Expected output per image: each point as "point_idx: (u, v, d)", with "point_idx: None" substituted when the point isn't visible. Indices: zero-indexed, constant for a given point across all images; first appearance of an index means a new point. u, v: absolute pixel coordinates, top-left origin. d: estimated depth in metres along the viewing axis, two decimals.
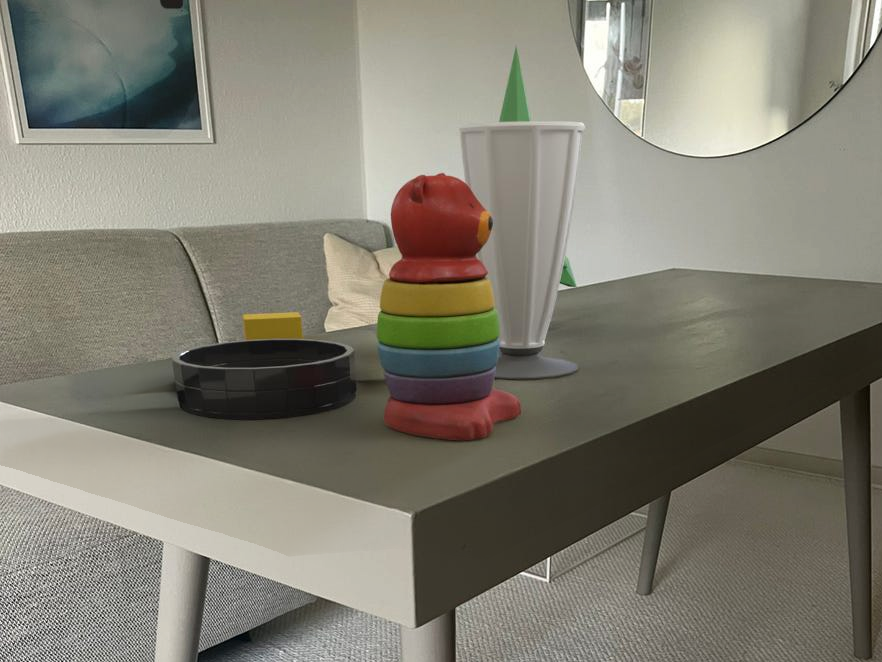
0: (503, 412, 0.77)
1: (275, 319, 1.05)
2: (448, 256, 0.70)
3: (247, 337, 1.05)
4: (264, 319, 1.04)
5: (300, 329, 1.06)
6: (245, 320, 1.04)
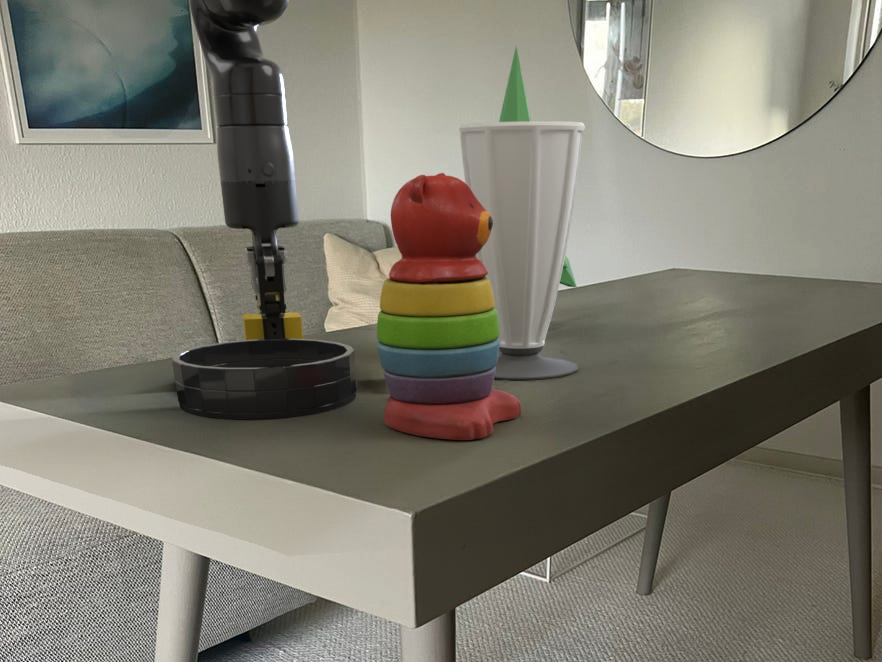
0: (503, 412, 0.77)
1: None
2: (448, 256, 0.70)
3: (247, 337, 1.05)
4: None
5: (300, 329, 1.06)
6: (245, 320, 1.04)
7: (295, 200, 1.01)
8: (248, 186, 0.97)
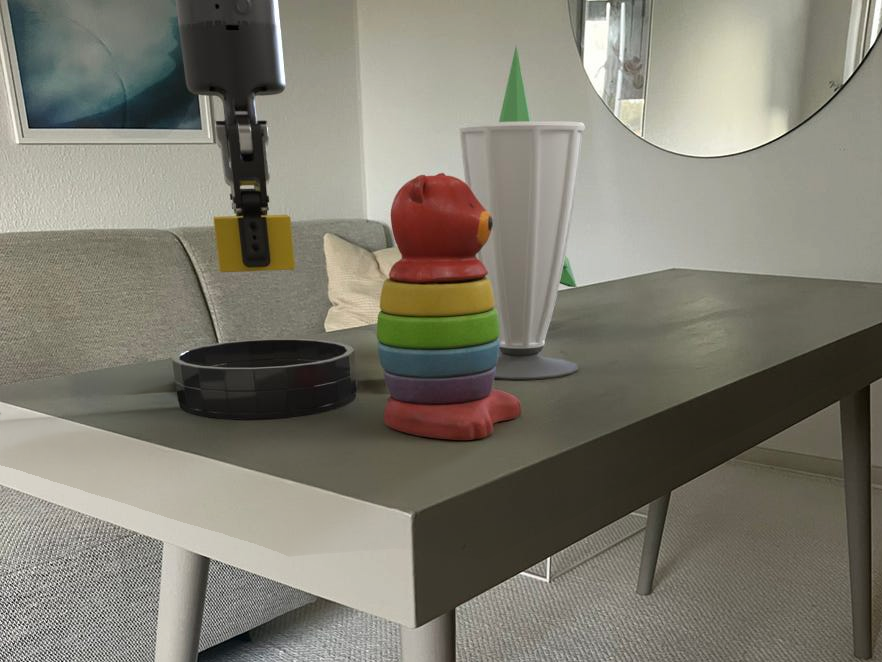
0: (503, 412, 0.77)
1: None
2: (448, 256, 0.70)
3: (219, 243, 0.79)
4: None
5: (289, 234, 0.80)
6: (216, 220, 0.78)
7: (280, 54, 0.75)
8: (215, 28, 0.72)
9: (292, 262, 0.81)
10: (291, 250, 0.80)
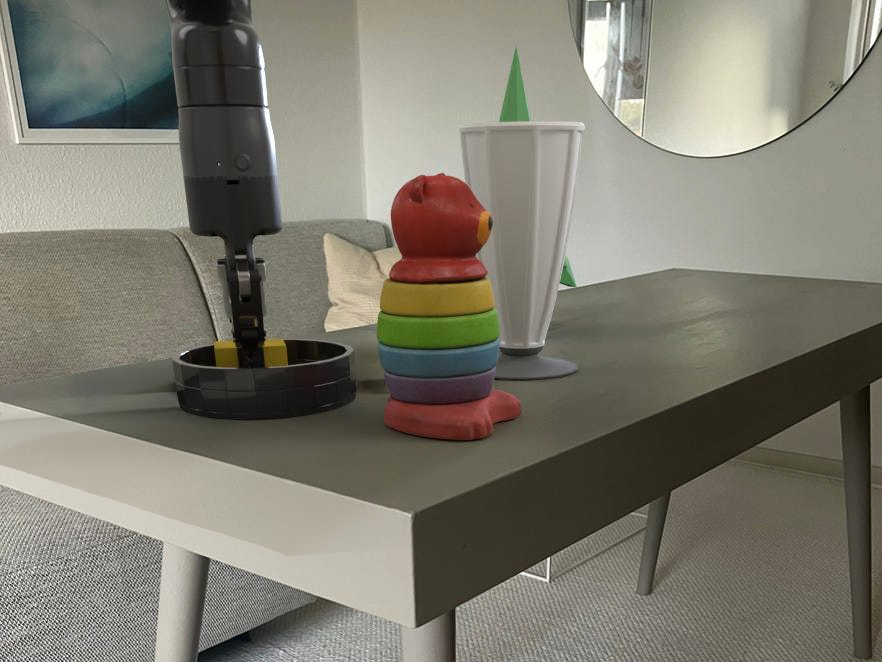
0: (503, 412, 0.77)
1: None
2: (448, 256, 0.70)
3: None
4: None
5: (285, 360, 0.85)
6: (216, 349, 0.84)
7: (277, 201, 0.81)
8: (217, 183, 0.77)
9: None
10: None
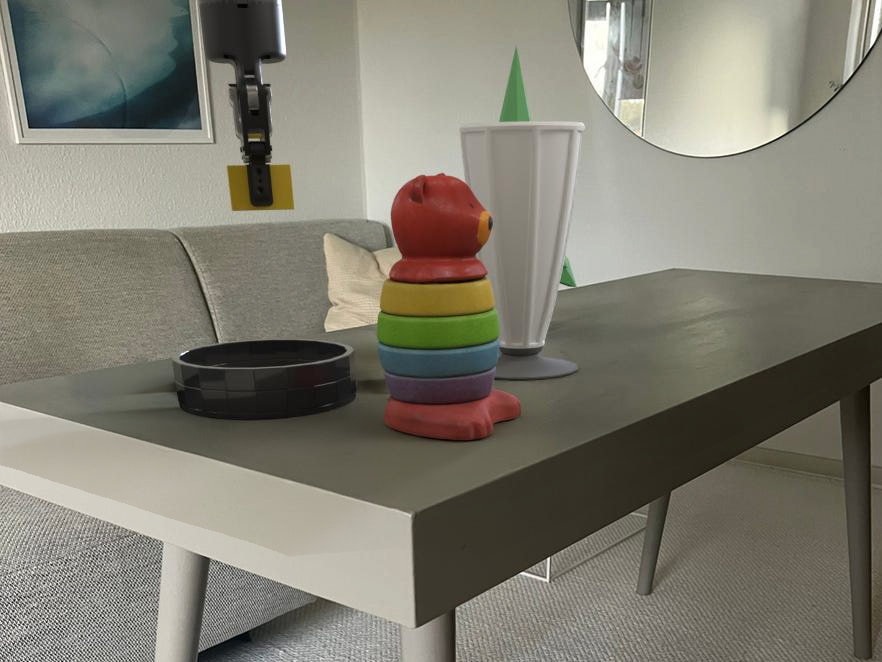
0: (503, 412, 0.77)
1: None
2: (448, 256, 0.70)
3: (231, 186, 0.95)
4: None
5: (289, 179, 0.96)
6: (228, 166, 0.94)
7: (282, 28, 0.91)
8: (229, 6, 0.88)
9: (292, 203, 0.97)
10: (291, 193, 0.97)
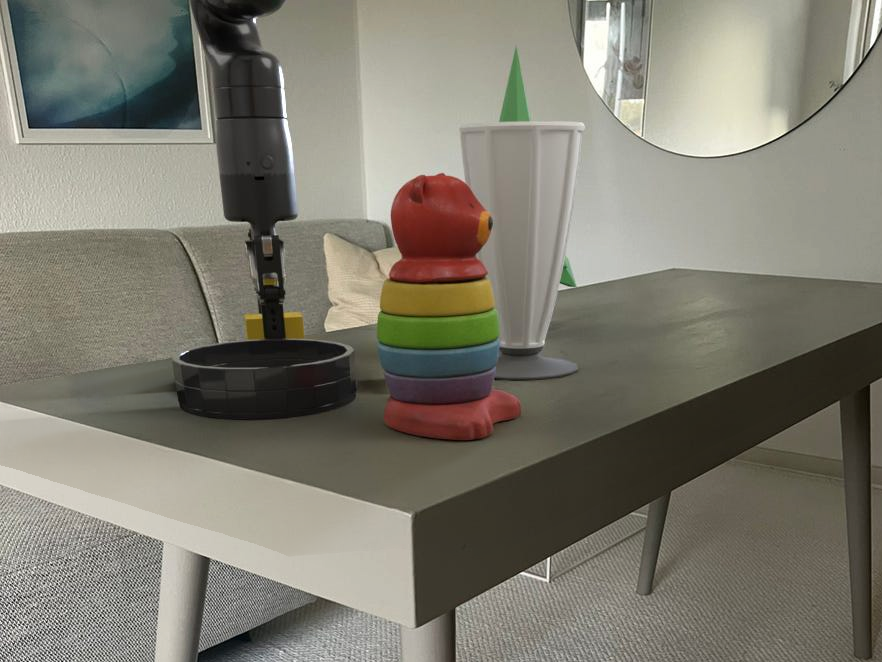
0: (503, 412, 0.77)
1: None
2: (448, 256, 0.70)
3: (249, 337, 1.05)
4: None
5: (302, 329, 1.06)
6: (247, 320, 1.04)
7: (294, 193, 1.01)
8: (247, 179, 0.97)
9: None
10: None
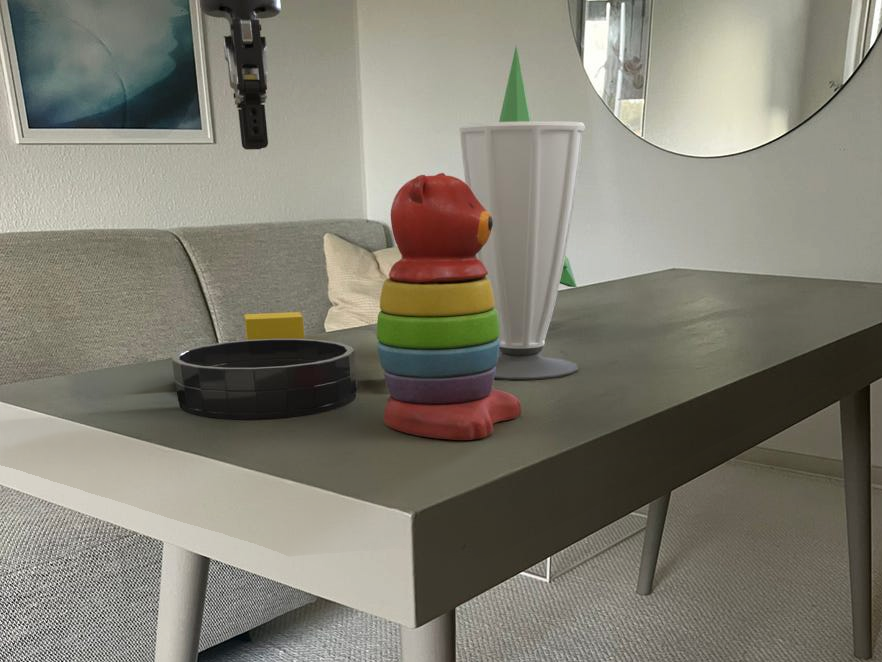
0: (503, 412, 0.77)
1: (277, 319, 1.05)
2: (448, 256, 0.70)
3: (249, 337, 1.05)
4: (266, 319, 1.04)
5: (302, 329, 1.06)
6: (247, 320, 1.04)
7: None
8: None
9: None
10: None
